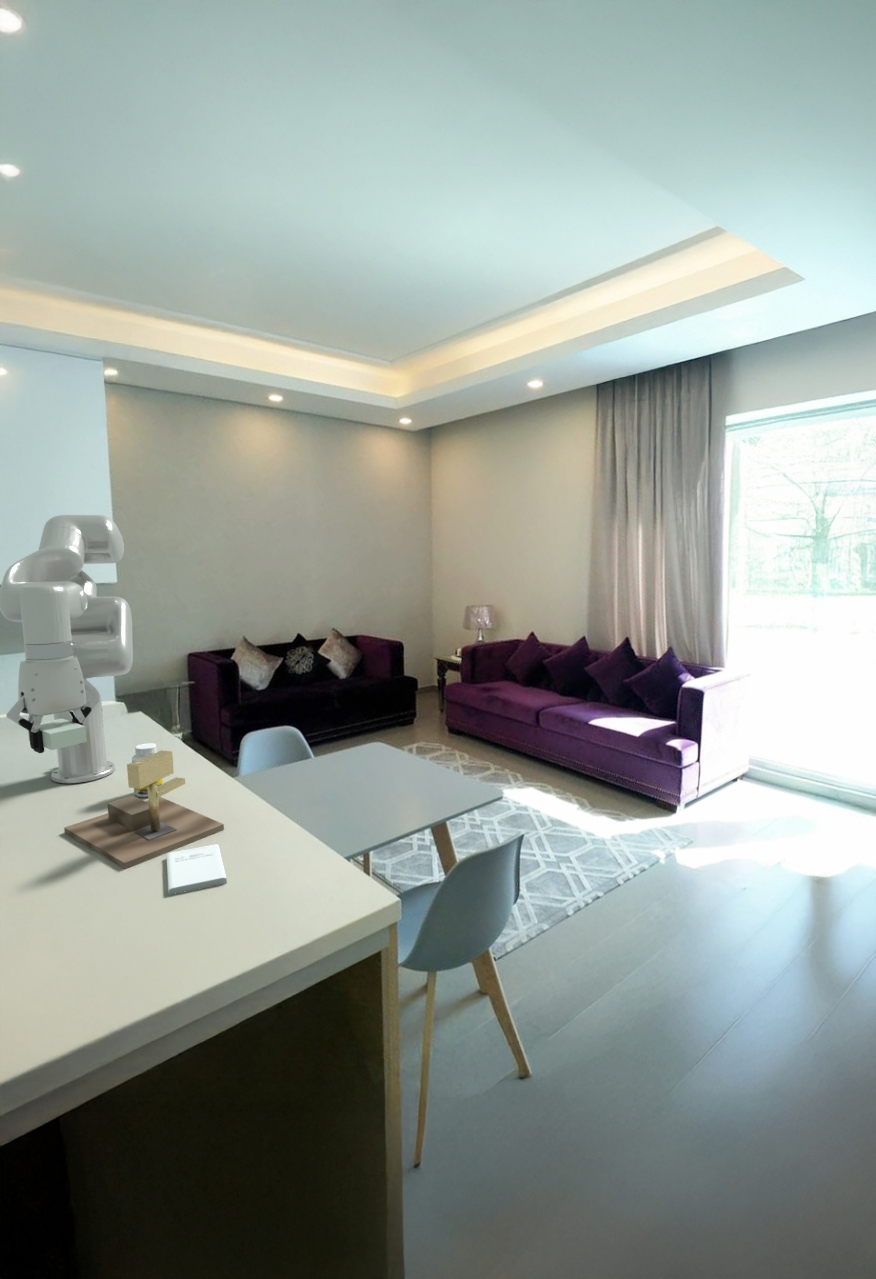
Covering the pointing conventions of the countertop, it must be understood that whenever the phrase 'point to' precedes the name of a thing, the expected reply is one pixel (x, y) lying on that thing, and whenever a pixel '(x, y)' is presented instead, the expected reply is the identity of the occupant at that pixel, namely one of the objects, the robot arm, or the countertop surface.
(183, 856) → the external hard drive
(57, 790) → the countertop surface
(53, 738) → the mint green block
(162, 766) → the key
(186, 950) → the countertop surface
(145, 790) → the supplement bottle
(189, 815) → the base
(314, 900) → the countertop surface
